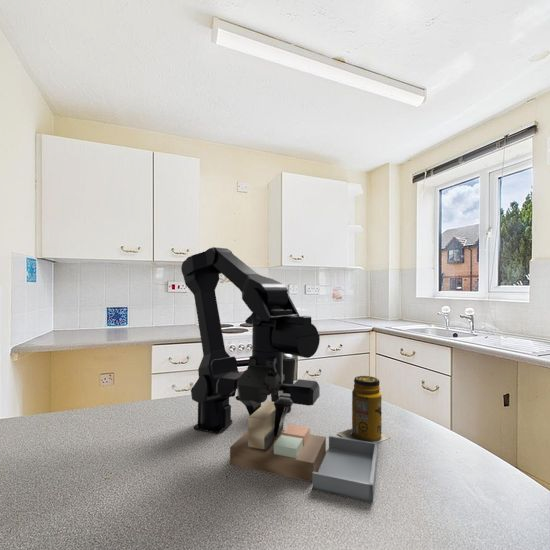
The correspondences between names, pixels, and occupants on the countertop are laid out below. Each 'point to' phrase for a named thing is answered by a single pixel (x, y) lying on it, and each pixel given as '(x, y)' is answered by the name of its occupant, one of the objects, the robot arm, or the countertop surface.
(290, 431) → the tile terracotta
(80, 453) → the countertop surface
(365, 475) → the tray
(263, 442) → the tall cream block
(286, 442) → the tile sage
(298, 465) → the walnut board
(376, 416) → the condiment
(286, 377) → the drinking cup
